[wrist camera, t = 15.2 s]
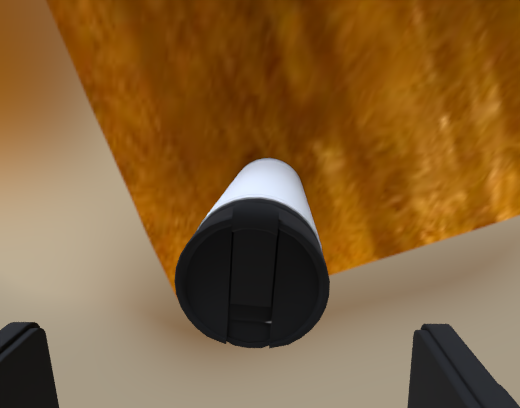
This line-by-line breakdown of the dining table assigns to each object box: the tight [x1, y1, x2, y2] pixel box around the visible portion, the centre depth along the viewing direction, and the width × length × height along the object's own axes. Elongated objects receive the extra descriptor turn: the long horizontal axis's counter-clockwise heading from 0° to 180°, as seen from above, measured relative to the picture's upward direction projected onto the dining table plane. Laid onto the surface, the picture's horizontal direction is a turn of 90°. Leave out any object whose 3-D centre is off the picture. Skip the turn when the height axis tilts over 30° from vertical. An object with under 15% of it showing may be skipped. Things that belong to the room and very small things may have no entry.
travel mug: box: [175, 158, 330, 348], centre depth 24 cm, size 6×7×20 cm
